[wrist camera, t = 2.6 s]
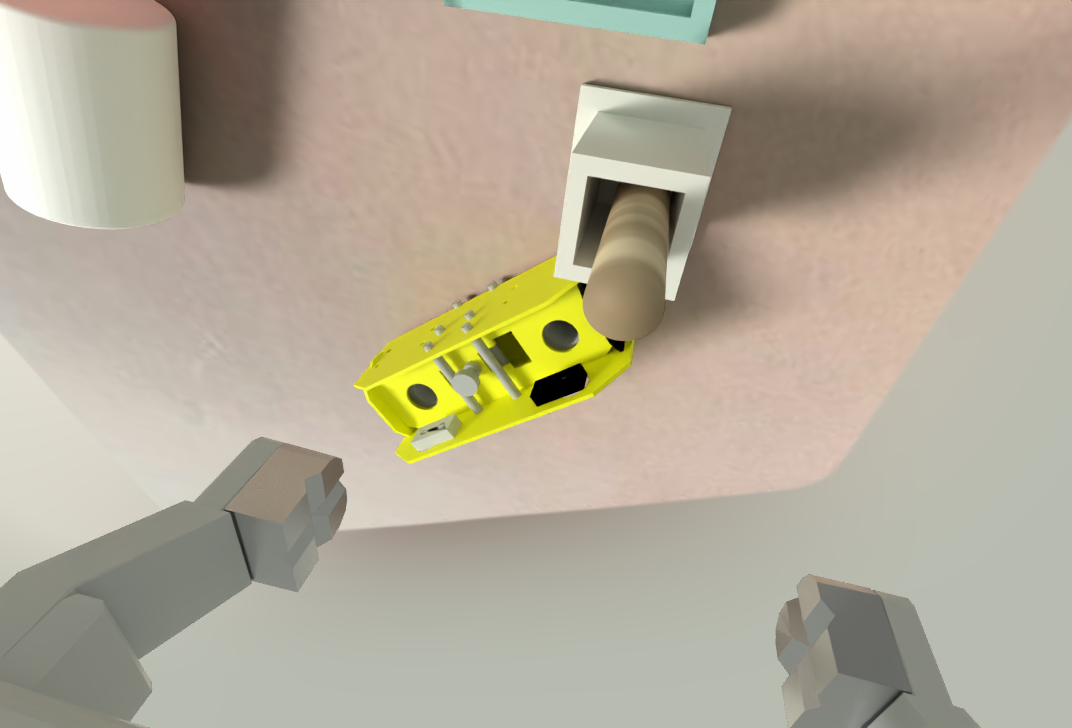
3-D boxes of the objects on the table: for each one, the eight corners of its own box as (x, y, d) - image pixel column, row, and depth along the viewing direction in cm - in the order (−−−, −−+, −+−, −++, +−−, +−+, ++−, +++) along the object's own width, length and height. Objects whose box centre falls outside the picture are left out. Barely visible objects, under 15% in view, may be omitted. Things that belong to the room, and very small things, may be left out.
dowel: (598, 141, 27) (589, 264, 16) (676, 152, 27) (725, 285, 16) (589, 189, 29) (576, 336, 17) (664, 200, 28) (701, 355, 17)
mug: (212, 23, 29) (78, 35, 22) (215, 199, 35) (109, 248, 28) (-7, -72, 28) (-208, -88, 22) (33, 122, 34) (-116, 154, 28)
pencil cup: (582, 83, 27) (547, 118, 20) (730, 106, 26) (749, 152, 19) (562, 222, 31) (527, 293, 24) (689, 247, 30) (692, 327, 23)
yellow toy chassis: (440, 394, 40) (391, 478, 33) (390, 332, 38) (327, 408, 31) (643, 306, 33) (634, 391, 26) (596, 224, 30) (572, 292, 24)
